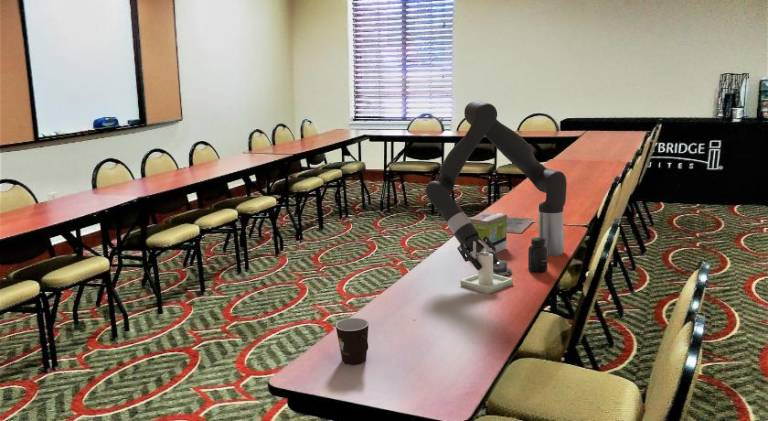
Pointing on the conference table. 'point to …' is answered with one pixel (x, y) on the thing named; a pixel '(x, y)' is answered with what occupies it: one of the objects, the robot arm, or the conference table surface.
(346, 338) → the coffee mug
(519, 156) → the robot arm
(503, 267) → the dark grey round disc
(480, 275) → the white knobbed cylinder
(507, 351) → the conference table surface
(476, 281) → the tray
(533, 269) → the supplement bottle
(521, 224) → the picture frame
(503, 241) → the tea box
